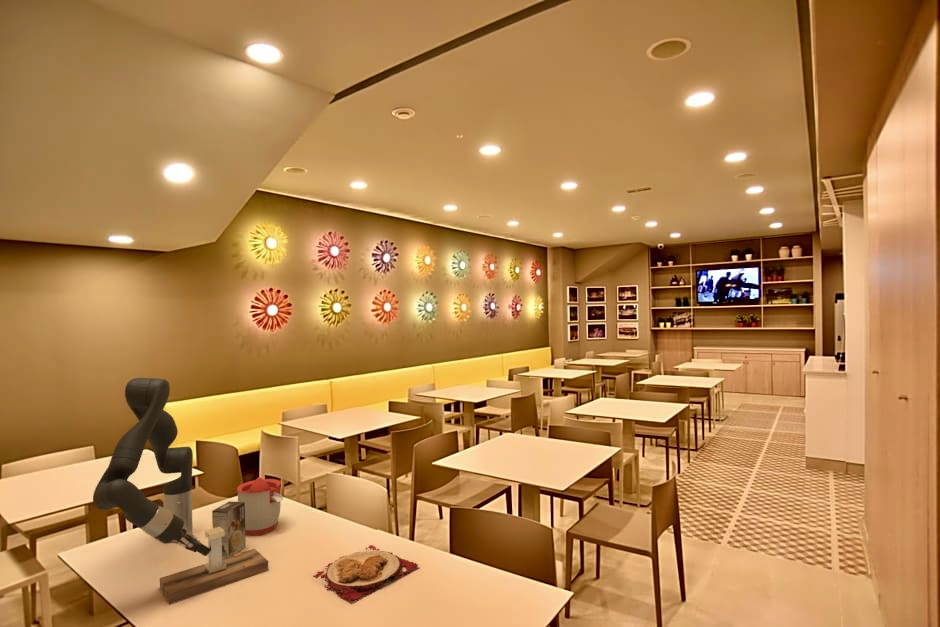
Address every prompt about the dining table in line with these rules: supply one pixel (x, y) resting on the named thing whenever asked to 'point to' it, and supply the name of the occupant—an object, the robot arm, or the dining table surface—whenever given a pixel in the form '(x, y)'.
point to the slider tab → (215, 550)
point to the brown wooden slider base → (212, 576)
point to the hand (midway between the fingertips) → (207, 552)
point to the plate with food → (363, 572)
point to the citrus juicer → (260, 505)
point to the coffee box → (231, 526)
